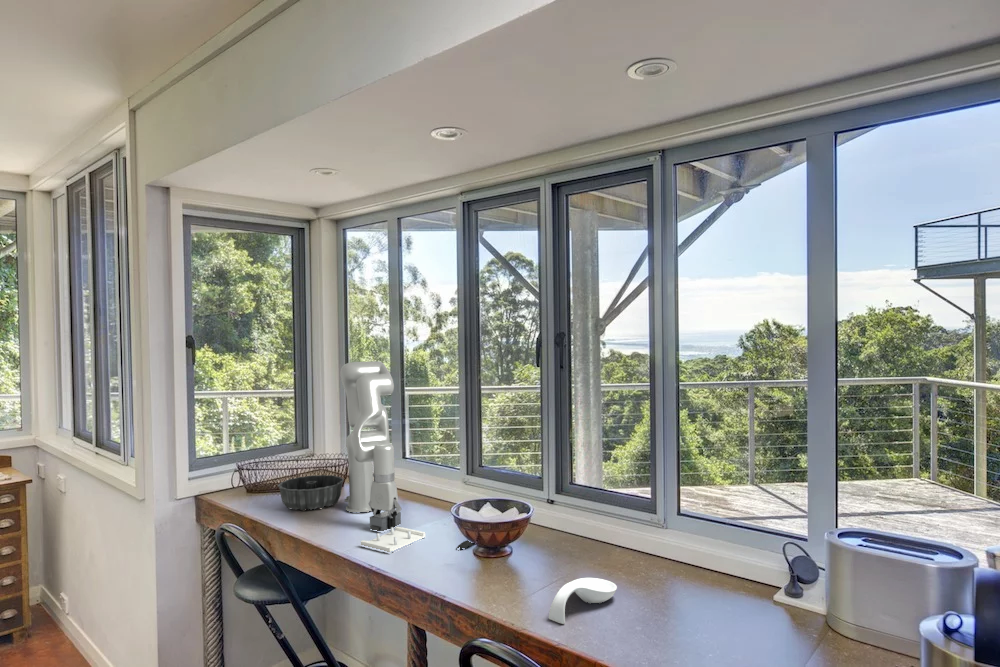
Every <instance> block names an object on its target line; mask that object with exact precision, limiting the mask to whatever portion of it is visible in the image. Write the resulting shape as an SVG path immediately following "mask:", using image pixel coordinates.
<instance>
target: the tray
mask: <svg viewBox="0 0 1000 667" xmlns="http://www.w3.org/2000/svg"><path fill="white" fill-rule="evenodd" d="M380 534H381V533H378V532H376V537H375V538H373V539H371V540H370V539H369V540H361V541H360V546H361V545H364V546H368V547H372V548H376V549H380V550H384V551H387V552H391V551H394V550H396V549H398V548H401V547H403V546H405V545H408V544H410V543H412V542H414V541H417V540H419V539H422V538H424V537H425V538H426V532H425V531H421V530H417V529H412V528H406V527H403V526H402V527H401V526H399V527H398V526H397V527H395V528H394V527H391V530H390V531H388V532H386V533H385V534H382V535H380ZM422 540H423V539H422Z"/></svg>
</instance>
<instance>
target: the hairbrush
mask: <svg viewBox="0 0 1000 667" xmlns="http://www.w3.org/2000/svg"><path fill="white" fill-rule="evenodd" d="M468 540H469V539H466V540H465V541H464V540H463V542H461V543H460V544H458V545H457V546H456V549H457V548H459V547H460V549H462V548H467V547H468V546H469V547H468V548H470V547H471V546H473V545H474V544H472V543H471V542H469V541H468ZM468 548H467V549H468Z"/></svg>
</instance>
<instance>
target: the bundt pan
mask: <svg viewBox="0 0 1000 667" xmlns="http://www.w3.org/2000/svg"><path fill="white" fill-rule="evenodd" d="M344 479H345V478H343V477H341V476H337V475H334V474H333V475H330V474H329V475H326V474H319V475H307V476H297V477H296V478H295V477H294V478H293V477H292V478H290V479H289V478H288V479H286V480H284V481H281V482H280V483H278V484H277V487H278V488H279V492H280V498H281V501H282V503H283V505H284V507H286V508H288V509H289V508H292V509H291V510H294V509H300V510H301V511H303V510H305V509H306V510H309V509H310V510H309V511H313V510H312V509H314V510H316V509H319V508H322V509H324V508H325V507H324V506H328V507H330V506H332V504H333V505H335V504H336V503H338V501H339V499H340V497H341V495H342V490H343V482H344ZM306 510H305V511H306Z"/></svg>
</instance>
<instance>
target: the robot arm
mask: <svg viewBox="0 0 1000 667" xmlns="http://www.w3.org/2000/svg"><path fill="white" fill-rule="evenodd" d="M340 380H341V383H342V386H343V390H344V392H345V395H346V396H345V397H346V406H347V407H346V408H347V419H348V425H349V427H351V428H353V429H352V432H351V433H350V434H348V435H347V437H346V438H345V445H346V451H347V457H348V458H347V459H348V476H349V477H348V483H349V484H348V485H349V486H348V487H349V489H348V493H349V495H347V496H346V498H344V500H343V501H344V502H345V503H347V506H345V511H346V510H347V511H350V512H367V513H370V512H369V511H371V512H372V516H374V515H376V514H379V513H382V512H384V511H388V514H389V517H390V518H388V529H391V527H395V526H396V524H395V517H396V516H397V514H398V513H399V512H401V511H402V506H401V505H400V504H399V496H398V488H397V482H396V480H395V479H396V478H395V448H394V447H395V446H394V445H393V444H392V443H390V441H391V440H390V430H389V429H390V427H389V416H388V411H387V408H386V406H385V405H384V404H382V399H381V396H389V395H392V394H393V392H394V391H395V390H394V389H395V384H394V379H393V377H392V375H391V373H390V371H389V370H388V368H387V366H386V365H385V363H384V362H382V361H377V360H376V361H375V360H373V361H369V360H368V361H352V362H347V363H345V364H343V365H342V367H341V369H340ZM365 428H375V429H374V430H373V429H372V430H362V429H365ZM347 511H346V512H347ZM391 511H392V512H393V513H392V512H391ZM350 512H349V513H350Z"/></svg>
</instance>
